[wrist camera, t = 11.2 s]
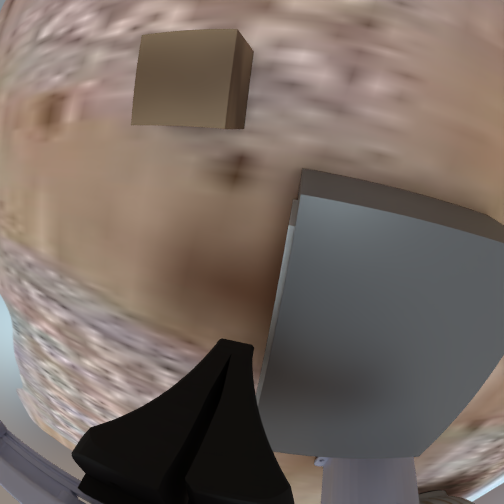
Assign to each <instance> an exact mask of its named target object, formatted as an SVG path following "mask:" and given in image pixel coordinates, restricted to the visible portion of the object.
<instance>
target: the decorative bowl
mask: <svg viewBox="0 0 504 504" xmlns="http://www.w3.org/2000/svg"><path fill="white" fill-rule="evenodd" d="M418 495H419V504H475V503H473V502H471V501H469V500H467V499H464V498H460V497H455V496H447V494H446V491H442V490H439V491H431V492H427V493H422V494H418Z"/></svg>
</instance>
